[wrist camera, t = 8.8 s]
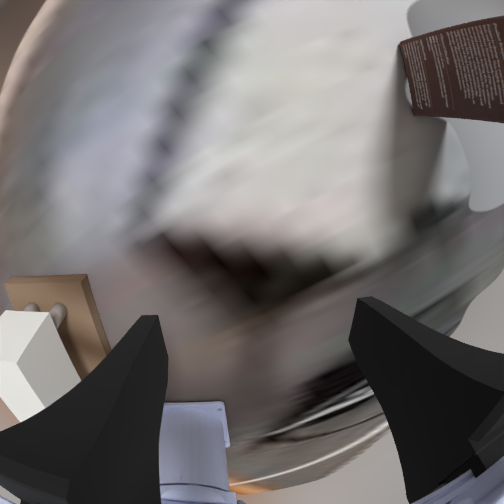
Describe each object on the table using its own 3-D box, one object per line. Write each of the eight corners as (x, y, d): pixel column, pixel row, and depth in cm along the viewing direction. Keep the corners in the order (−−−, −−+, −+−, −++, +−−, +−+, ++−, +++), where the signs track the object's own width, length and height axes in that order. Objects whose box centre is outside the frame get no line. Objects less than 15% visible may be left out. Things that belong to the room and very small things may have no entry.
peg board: (127, 387, 23) (120, 417, 19) (58, 380, 22) (47, 407, 19) (86, 274, 18) (66, 301, 15) (11, 277, 17) (-12, 300, 14)
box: (451, 116, 17) (578, 140, 6) (411, 116, 16) (557, 136, 6) (438, 46, 14) (561, 35, 3) (396, 39, 14) (531, 8, 3)
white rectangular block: (97, 408, 19) (85, 455, 14) (56, 402, 18) (40, 444, 14) (49, 312, 15) (16, 363, 10) (5, 310, 14) (-28, 353, 10)
